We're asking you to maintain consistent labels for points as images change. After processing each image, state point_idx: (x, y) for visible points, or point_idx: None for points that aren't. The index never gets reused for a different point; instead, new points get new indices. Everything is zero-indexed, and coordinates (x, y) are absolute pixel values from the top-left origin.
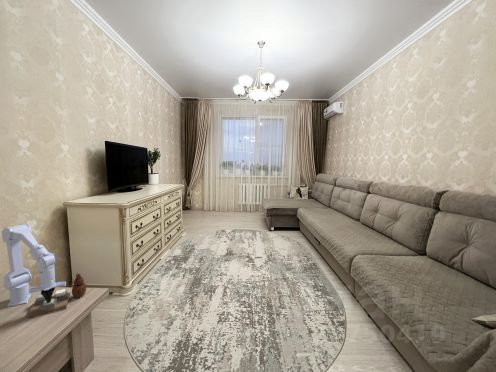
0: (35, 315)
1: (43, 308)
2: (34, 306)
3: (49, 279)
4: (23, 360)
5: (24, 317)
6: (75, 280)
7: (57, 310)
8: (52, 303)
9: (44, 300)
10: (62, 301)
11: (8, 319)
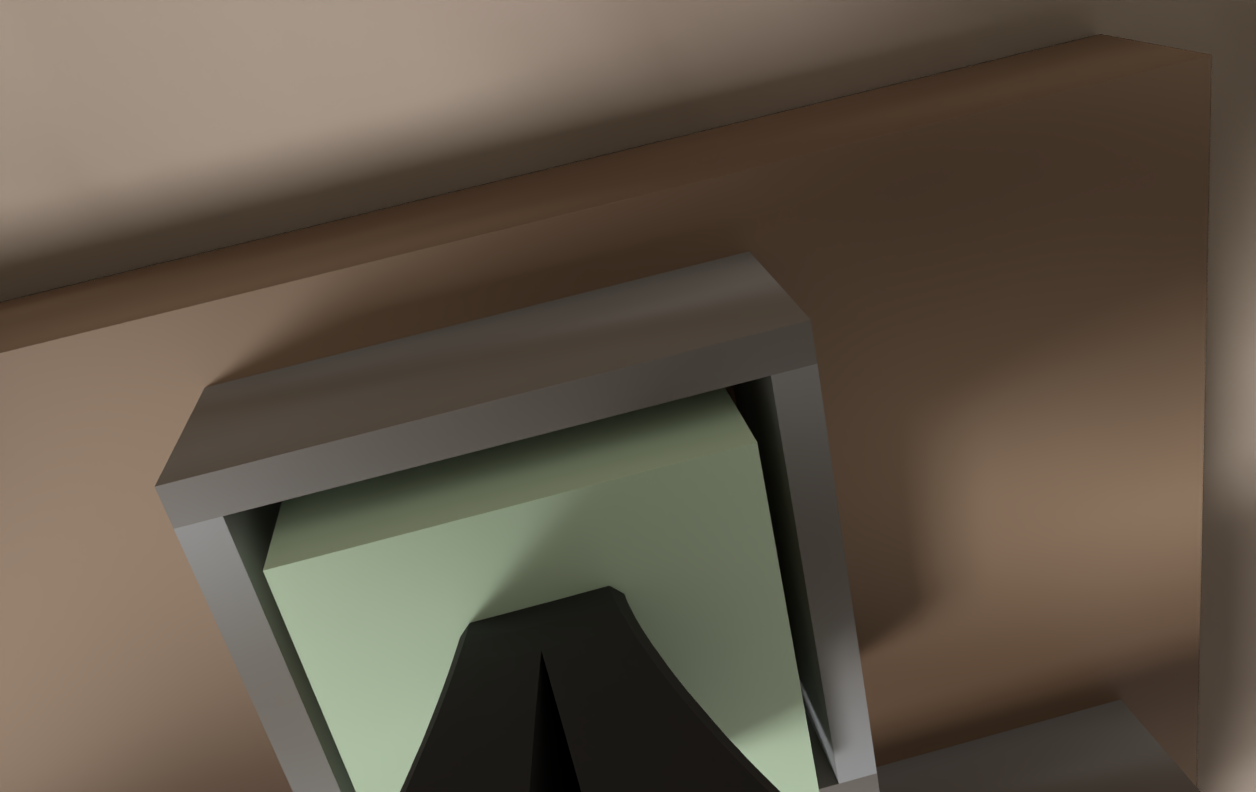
0: (887, 95)
1: (674, 304)
2: (1123, 629)
3: None
4: None
5: (1239, 142)
6: None
7: (98, 281)
8: (303, 532)
9: None
10: (116, 789)
11: None
